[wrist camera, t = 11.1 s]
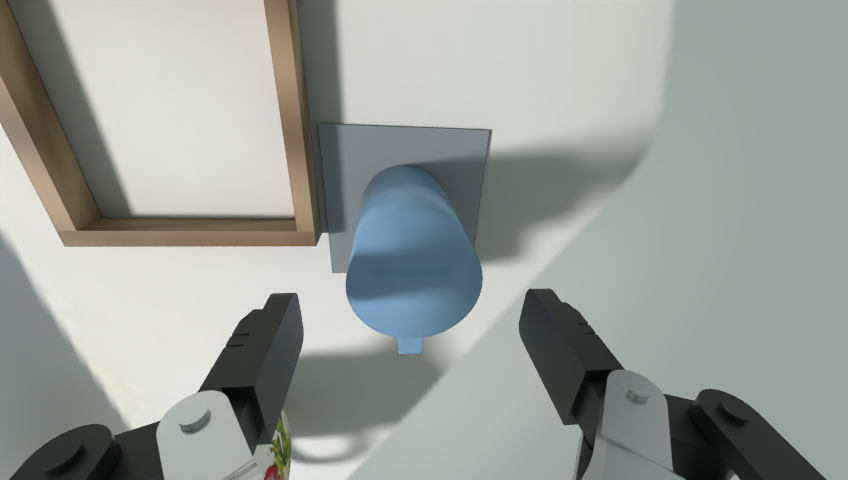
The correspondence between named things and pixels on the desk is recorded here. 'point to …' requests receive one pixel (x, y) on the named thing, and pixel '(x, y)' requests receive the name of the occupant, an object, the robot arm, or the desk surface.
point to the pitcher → (275, 453)
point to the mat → (389, 146)
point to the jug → (410, 259)
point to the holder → (84, 227)
